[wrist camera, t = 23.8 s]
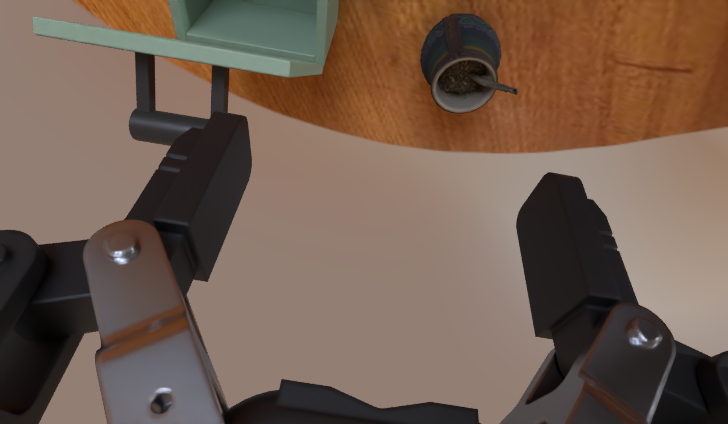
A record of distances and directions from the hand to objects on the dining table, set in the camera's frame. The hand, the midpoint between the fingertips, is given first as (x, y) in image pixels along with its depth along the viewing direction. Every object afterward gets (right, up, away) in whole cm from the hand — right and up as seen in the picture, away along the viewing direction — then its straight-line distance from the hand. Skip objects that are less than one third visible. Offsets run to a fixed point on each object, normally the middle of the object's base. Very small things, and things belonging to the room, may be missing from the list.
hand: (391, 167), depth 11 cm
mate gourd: (+9, +16, +28) cm, 33 cm away
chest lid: (-10, +9, +15) cm, 20 cm away
